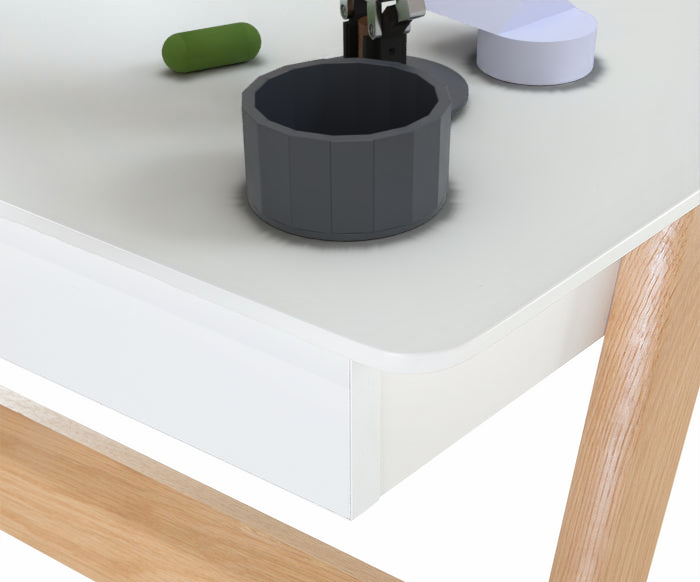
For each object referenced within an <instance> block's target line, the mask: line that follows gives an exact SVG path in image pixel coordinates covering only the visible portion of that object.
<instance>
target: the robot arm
mask: <svg viewBox="0 0 700 582" xmlns="http://www.w3.org/2000/svg"><path fill="white" fill-rule="evenodd" d="M393 1H395V3H394V4H391V5H390V4H389V5H386V7H385V8H384V9H383V3H387V2H388V3H389V2H393ZM426 12H427V10H426V7H425V1H424V0H339V13H340V16H341V18H342V19H343V21H342V47H343V48H342V56H343V58H358V20H359V19H360V18H362V17H364V16H368V33H369V35H365V36H363V58H367V59H375V60H383V61H392V62H399V63H402V64H405V65H406V57H407V56H408V54H407V53H408V52H407V51H408V50H407V49H408V48H407V46H408V34H409V33H410V32H411V27H412V24H411V23H412V21H413V20H416V19H420V18H423V17H425V16H426Z"/></svg>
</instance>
